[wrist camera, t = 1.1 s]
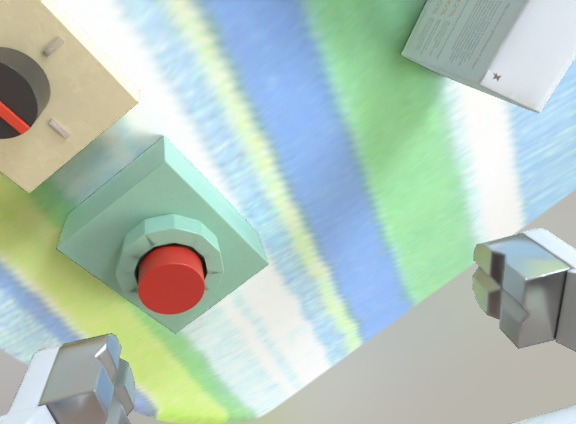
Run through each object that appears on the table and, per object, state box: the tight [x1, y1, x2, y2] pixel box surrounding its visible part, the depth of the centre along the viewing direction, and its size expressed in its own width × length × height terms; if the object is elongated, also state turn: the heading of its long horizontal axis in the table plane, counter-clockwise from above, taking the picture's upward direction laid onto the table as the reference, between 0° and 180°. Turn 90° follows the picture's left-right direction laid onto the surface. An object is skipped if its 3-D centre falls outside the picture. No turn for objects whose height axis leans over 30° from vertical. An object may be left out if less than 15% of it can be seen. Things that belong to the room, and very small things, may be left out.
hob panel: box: [0, 0, 140, 193], centre depth 29 cm, size 11×10×3 cm
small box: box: [401, 0, 576, 113], centre depth 31 cm, size 8×6×10 cm
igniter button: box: [138, 244, 205, 315], centre depth 31 cm, size 4×4×2 cm
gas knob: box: [0, 47, 50, 139], centre depth 26 cm, size 4×4×4 cm
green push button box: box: [56, 136, 269, 334], centre depth 35 cm, size 12×10×7 cm
